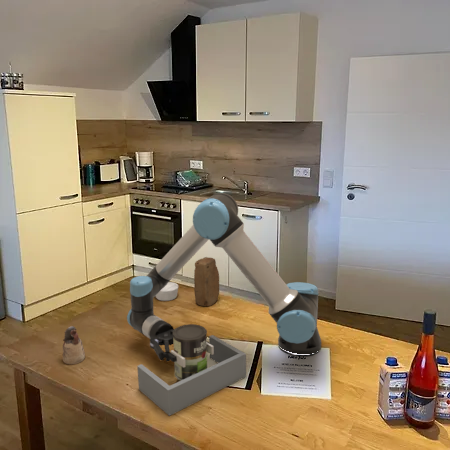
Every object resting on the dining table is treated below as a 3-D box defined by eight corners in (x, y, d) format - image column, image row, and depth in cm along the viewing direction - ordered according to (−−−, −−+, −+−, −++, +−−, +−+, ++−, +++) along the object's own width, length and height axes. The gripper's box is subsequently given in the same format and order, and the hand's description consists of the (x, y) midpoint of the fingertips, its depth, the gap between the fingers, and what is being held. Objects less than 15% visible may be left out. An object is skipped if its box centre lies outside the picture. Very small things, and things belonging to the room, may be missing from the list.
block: (206, 308, 195) (205, 264, 190) (192, 304, 200) (191, 260, 195) (222, 300, 204) (221, 257, 199) (209, 296, 208) (208, 254, 203)
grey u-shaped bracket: (138, 389, 140) (137, 365, 138) (213, 356, 158) (212, 334, 156) (169, 415, 127) (168, 390, 125) (245, 376, 146) (245, 353, 144)
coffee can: (214, 369, 144) (213, 328, 141) (194, 386, 136) (193, 343, 132) (187, 360, 149) (186, 321, 146) (167, 376, 141) (165, 334, 138)
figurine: (79, 351, 162) (75, 320, 159) (89, 359, 157) (86, 326, 154) (59, 359, 157) (56, 327, 154) (69, 367, 152) (65, 334, 149)
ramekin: (177, 302, 203) (176, 290, 201) (152, 302, 203) (151, 291, 202) (180, 292, 214) (179, 281, 212) (156, 292, 214) (155, 281, 212)
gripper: (186, 330, 162) (227, 354, 146) (128, 352, 148) (167, 382, 131) (185, 310, 160) (227, 333, 144) (127, 331, 146) (166, 358, 130)
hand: (198, 356), depth 138 cm, fingers closed on coffee can, 10 cm apart
